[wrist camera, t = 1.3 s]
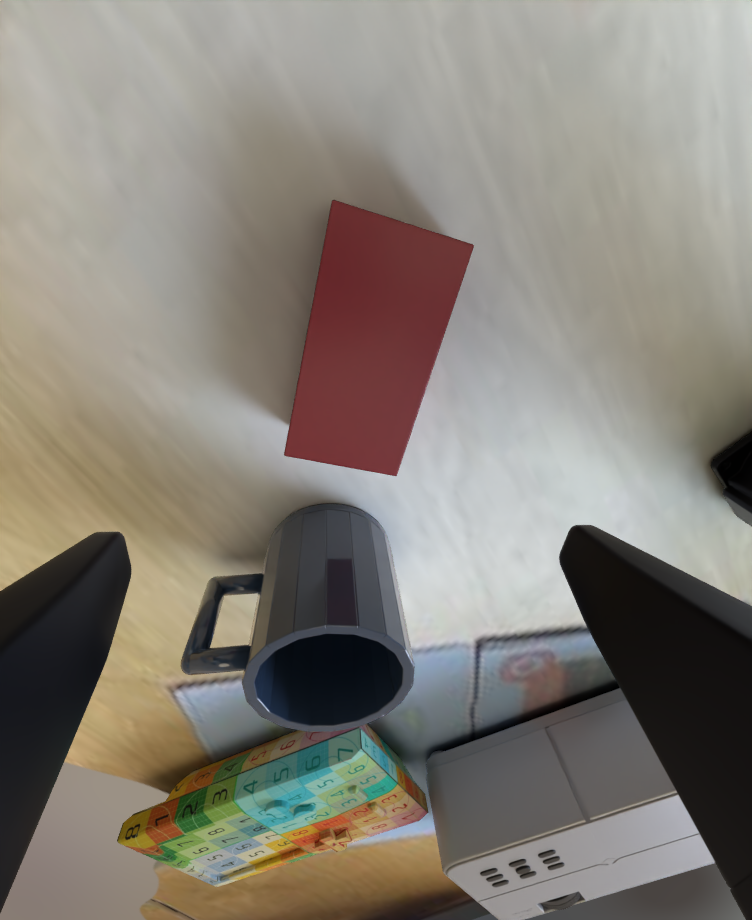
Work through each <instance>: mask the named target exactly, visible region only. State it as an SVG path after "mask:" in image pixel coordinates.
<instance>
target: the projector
mask: <svg viewBox="0 0 752 920" xmlns="http://www.w3.org/2000/svg"><path fill="white" fill-rule="evenodd" d="M426 769H427V775H426V781H427V786H428V792H429V797H430V803H431V808H432V814H433V819H434V825H435V830H436V836H437V842H438V847H439V853H440V858H441V864H442V869H443V872H444V874H445V875H446V876H447V877H449V878H450V879H451V880H452V881H453V882H455V883H456V884H457V885H458V886H459V887H461V888H462V889H463V890H464V891H465V892H466V893H468V894H469V895H470V896H471V897H472V898H474V899H475V900H476V901H477V902H478V903H480V904H481V905H482V906H483V907H484V908H486V909H487V910H488V911H489V912H490V913H492V914H493V915H494V916H495V917H496V918H497V919H499V920H524V919H528V918H530V917H534V916H537V915H541V914H544V913H548V912H551V911H554V910H562V909H566V908H568V907H570V906H572V905H574V904H578V903H581V902H585V901H588V900H591V899H595V898H598V897H601V896H605V895H608V894H612V893H615V892H618V891H622V890H623V889H628V888H632V887H635V886H639V885H642V884H645V883H649V882H652V881H655V880H659V879H662V878H665V877H669V876H672V875H676V874H679V873H682V872H686V871H689V870H692V869H695V868H699V867H702V866H706V865H709V864H713V863H715V861H714V859H713V857H712V856H711V854H710V852H709V850H708V848H707V846H706V845H705V843H704V841H703V839H702V837H701V835H700V834H699V832H698V830H697V828H696V826H695V824H694V823H693V821H692V819H691V817H690V815H689V813H688V812H687V810H686V808H685V806H684V804H683V802H682V801H681V799H680V797H679V795H678V793H677V791H676V790H675V788H674V786H673V784H672V782H671V780H670V779H669V777H668V775H667V773H666V771H665V769H664V768H663V766H662V764H661V762H660V760H659V758H658V757H657V755H656V753H655V751H654V749H653V747H652V746H651V744H650V742H649V740H648V738H647V736H646V735H645V733H644V731H643V729H642V727H641V725H640V724H639V722H638V720H637V718H636V716H635V714H634V713H633V711H632V709H631V707H630V705H629V703H628V702H627V700H626V698H625V696H624V694H623V692H622V691H621V689H620V688H619V689H616V690H613V691H610V692H608V693H605V694H602V695H599V696H597V697H594V698H591V699H588V700H585V701H583V702H580V703H577V704H574V705H572V706H569V707H566V708H563V709H561V710H558V711H555V712H552V713H550V714H547V715H544V716H541V717H538V718H536V719H533V720H530V721H527V722H525V723H522V724H519V725H516V726H514V727H511V728H508V729H505V730H502V731H500V732H497V733H494V734H491V735H489V736H486V737H483V738H480V739H478V740H475V741H472V742H469V743H467V744H464V745H461V746H458V747H455V748H453V749H450V750H447V751H435V752H433V753H432V754H431V755H430V758H429V759H428V760H427V762H426Z"/></svg>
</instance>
